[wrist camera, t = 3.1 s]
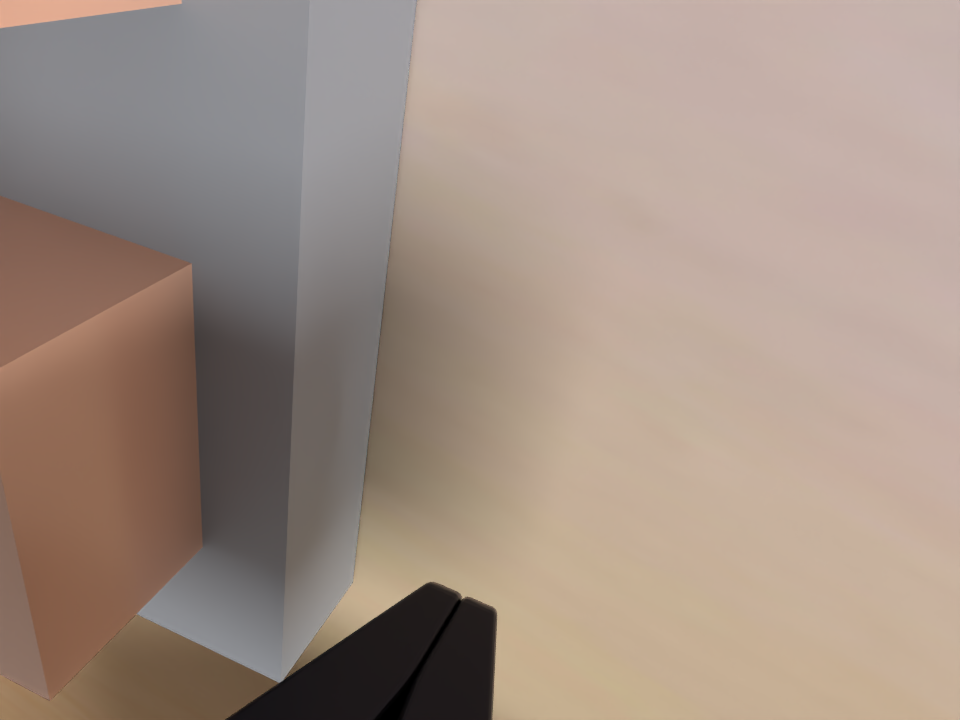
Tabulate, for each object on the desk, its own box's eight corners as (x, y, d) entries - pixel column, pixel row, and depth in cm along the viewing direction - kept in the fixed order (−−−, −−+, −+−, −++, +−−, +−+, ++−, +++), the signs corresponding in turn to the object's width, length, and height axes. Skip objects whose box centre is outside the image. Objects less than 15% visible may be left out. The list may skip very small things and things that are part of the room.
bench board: (352, 583, 15) (280, 683, 13) (-75, 395, 18) (-192, 457, 16) (534, -1066, 6) (376, -1588, 4) (-443, -981, 8) (-853, -1271, 6)
